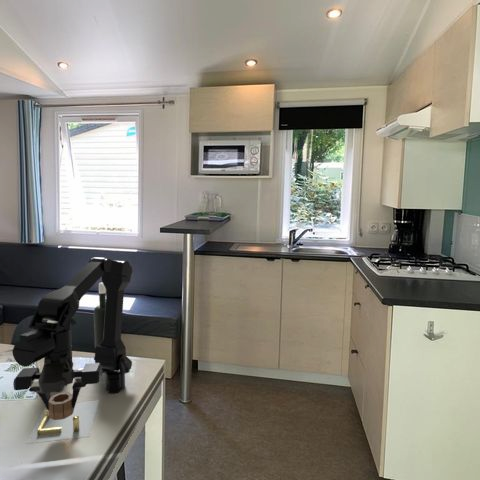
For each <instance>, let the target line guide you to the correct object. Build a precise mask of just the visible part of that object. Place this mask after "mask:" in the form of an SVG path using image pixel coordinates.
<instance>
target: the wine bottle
mask: <svg viewBox="0 0 480 480" xmlns="http://www.w3.org/2000/svg"><path fill="white" fill-rule="evenodd" d="M98 297H99V298H98V299H99V300H98V301H99V305H97V306H96V307H94V309H93V329H94V332H93V333H94V349H95V348H96V346H99V344H100V343H101V342H102V340H103V334H104V320H105V306H106V288H105V286H104V284H103V282H102V281H101V282H98ZM102 374H105V372H102Z"/></svg>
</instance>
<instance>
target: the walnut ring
mask: <svg viewBox="0 0 480 480" xmlns="http://www.w3.org/2000/svg"><path fill="white" fill-rule="evenodd" d="M72 396H73V393H71V392H70V391H69V392H68V391H66V392H65V391H64V392H57V393H56V394H54V395H52V396H51V397H50V399H49V401H48V404H49V417H50V418H51V419H53V420H61V419H65V418H67V417H69V416H71V415H72V414H73V411H74V408H72Z"/></svg>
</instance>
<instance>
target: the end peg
mask: <svg viewBox="0 0 480 480" xmlns="http://www.w3.org/2000/svg"><path fill="white" fill-rule="evenodd" d="M78 431H79V416H74V417H73V432H78Z"/></svg>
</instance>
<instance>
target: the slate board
mask: <svg viewBox="0 0 480 480" xmlns="http://www.w3.org/2000/svg"><path fill="white" fill-rule="evenodd" d="M99 404H100V400H92V401H91V400H90V401H82V402H76V405H75V408H74V411H73V414H72V415H71V416H69V417H67V418H65V419H61V420H53V419H51V418H49V419H48V420H47V422H46V424H45V426H44V428H43V429H46V428H56V427H61V430H62V432H61V433H56V434H47V435H38V436H37V430H38V428H39V426H40V425H41V423H42V421H43V419H44V417H45V410H47V408H46V406H45V407H44V409H43V410H42V413H41V414H40V416H39V418H38V420H37V422H36V424H35V426H34V428H33V430H31V433H30V436H29V437H28V439H27V441H26V442H25V444H26V445H28V444H29V445H30V444H35V443H36V444H37V443H46V442H53V441H56V442H57V441H62V440H70V439H72V440H73V439H81V438H89V437H90V436H91V431H92V428H93V425H94V421H95V418H96V415H97V411H98V407H99ZM74 416H79V431H78V432H73V417H74Z"/></svg>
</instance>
